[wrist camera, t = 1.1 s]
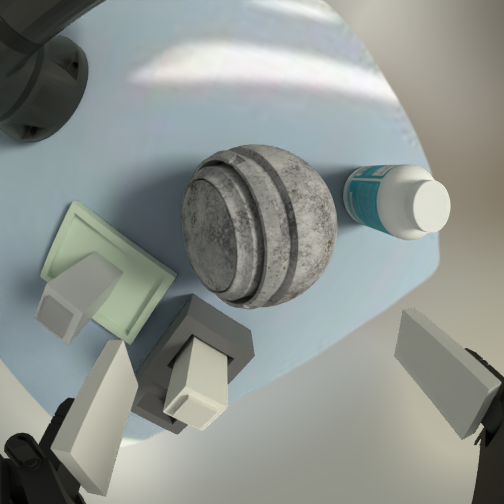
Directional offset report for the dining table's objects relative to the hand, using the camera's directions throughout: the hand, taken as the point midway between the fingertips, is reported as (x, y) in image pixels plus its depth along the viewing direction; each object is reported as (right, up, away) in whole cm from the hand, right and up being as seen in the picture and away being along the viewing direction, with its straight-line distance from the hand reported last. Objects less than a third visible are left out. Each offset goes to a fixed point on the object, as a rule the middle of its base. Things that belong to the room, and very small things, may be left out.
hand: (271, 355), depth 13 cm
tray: (-20, +2, +22) cm, 30 cm away
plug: (-20, +2, +22) cm, 29 cm away
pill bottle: (+14, +12, +23) cm, 29 cm away
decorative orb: (-1, +9, +22) cm, 24 cm away
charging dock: (-10, -10, +26) cm, 30 cm away
